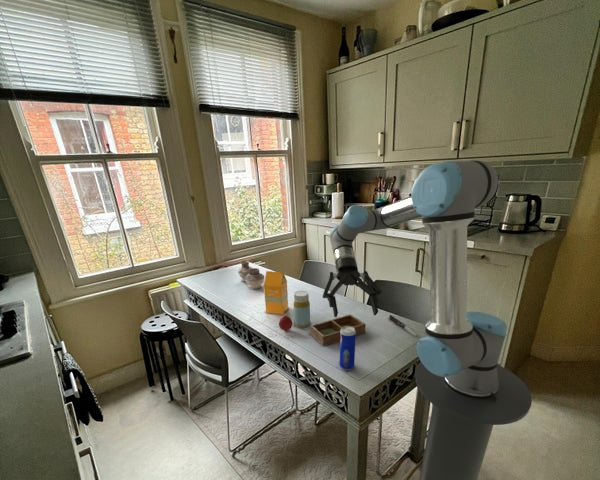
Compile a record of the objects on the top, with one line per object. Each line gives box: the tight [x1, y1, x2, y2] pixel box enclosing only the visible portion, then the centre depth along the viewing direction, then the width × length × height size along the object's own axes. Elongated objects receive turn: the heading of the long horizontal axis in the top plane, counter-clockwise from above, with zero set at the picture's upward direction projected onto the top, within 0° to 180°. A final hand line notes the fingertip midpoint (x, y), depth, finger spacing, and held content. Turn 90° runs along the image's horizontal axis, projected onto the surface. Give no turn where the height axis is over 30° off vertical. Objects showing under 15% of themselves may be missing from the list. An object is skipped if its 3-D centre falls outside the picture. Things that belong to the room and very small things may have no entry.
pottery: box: [237, 259, 265, 290], centre depth 188 cm, size 11×25×12 cm, turn 30°
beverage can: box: [339, 326, 357, 371], centre depth 109 cm, size 5×5×15 cm
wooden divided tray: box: [310, 314, 366, 347], centre depth 132 cm, size 11×20×4 cm, turn 117°
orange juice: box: [263, 270, 289, 316], centre depth 151 cm, size 8×9×20 cm
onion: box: [278, 313, 294, 332], centre depth 135 cm, size 6×6×8 cm
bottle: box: [293, 290, 311, 328], centre depth 138 cm, size 7×7×15 cm
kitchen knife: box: [389, 314, 418, 337], centre depth 135 cm, size 18×1×2 cm, turn 21°
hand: (356, 314), depth 104 cm, fingers open, 13 cm apart
